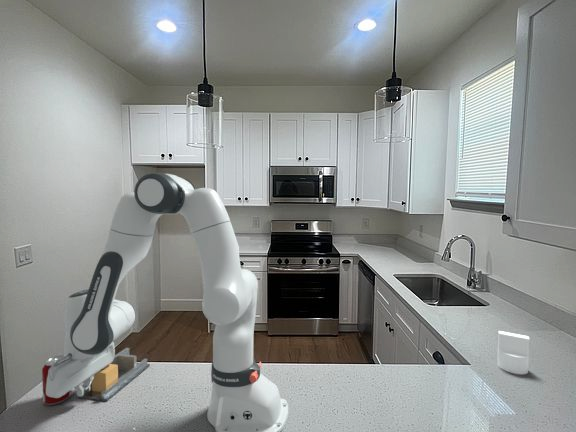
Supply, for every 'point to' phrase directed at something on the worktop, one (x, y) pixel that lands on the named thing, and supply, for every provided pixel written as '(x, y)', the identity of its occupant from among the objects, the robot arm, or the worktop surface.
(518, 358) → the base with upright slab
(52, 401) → the soda can
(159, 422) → the worktop surface
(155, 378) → the worktop surface
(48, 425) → the worktop surface
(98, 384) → the block
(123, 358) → the rail
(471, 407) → the worktop surface
